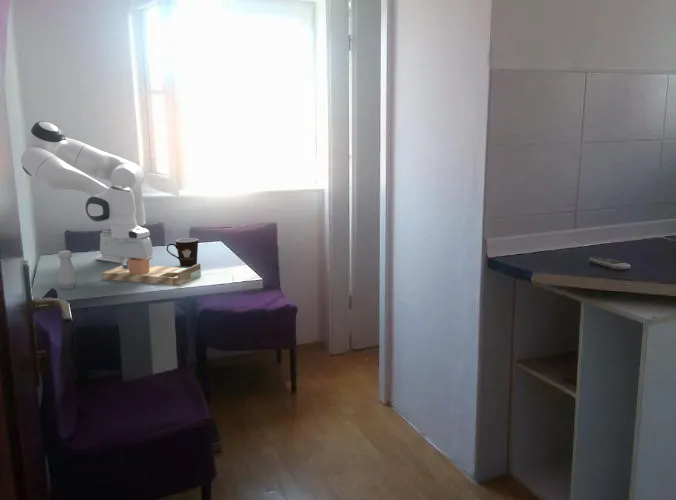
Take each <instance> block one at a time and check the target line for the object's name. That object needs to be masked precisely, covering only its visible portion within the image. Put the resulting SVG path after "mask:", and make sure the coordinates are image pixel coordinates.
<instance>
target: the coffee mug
mask: <svg viewBox="0 0 676 500" xmlns="http://www.w3.org/2000/svg"><path fill="white" fill-rule="evenodd" d="M170 246H174V247H175V249H176V250H177V255H178V256H177V255H175V254H173V253H172V252H170V251H169V247H170ZM165 250H166V252H167V253H168V254H170V255H171V256H173V257H174V258H176V259H178V261H179V265H180V266H179V267H181V268H189V267H191V266H194V265H196V264H198V250H199V238H195V237H185V238H178V239H176V240H175V243H169V244H167V245H166V249H165Z"/></svg>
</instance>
